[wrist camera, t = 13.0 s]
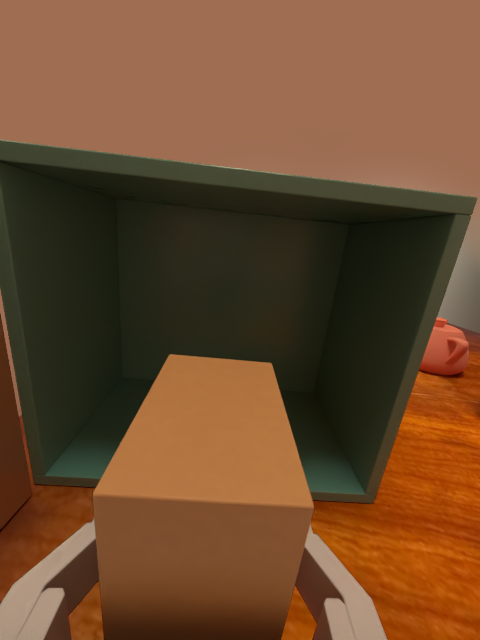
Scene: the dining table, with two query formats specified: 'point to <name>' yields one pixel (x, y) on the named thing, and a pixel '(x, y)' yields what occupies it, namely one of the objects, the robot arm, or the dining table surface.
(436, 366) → the teapot
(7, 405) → the brown cabinet door
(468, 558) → the dining table surface
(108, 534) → the block
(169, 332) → the green hollow box
